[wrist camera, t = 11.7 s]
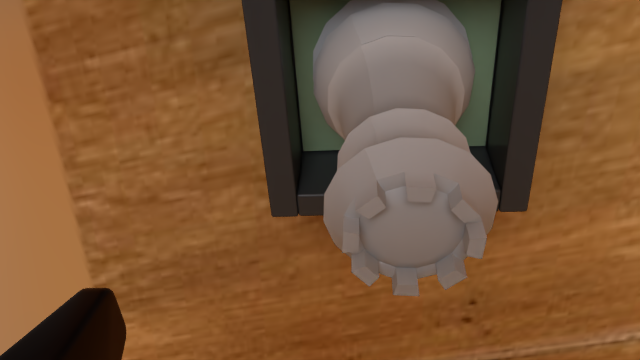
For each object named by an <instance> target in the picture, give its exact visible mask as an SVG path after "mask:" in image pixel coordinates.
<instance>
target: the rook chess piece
mask: <svg viewBox="0 0 640 360" xmlns="http://www.w3.org/2000/svg"><path fill="white" fill-rule="evenodd" d="M472 57H473V56H472V53H471V49H470V45H469V41H468V38H467V34H466V30H465V27H464V26H463V25H462V24H461V23H460V21H459V20H458V19H457V18H456V17H455V15H454V14H453V13H452V12H451V11H450V10H449V8H448V7H447V6H446V5H445V4H444V3H441V2H439V1H437V0H352V1H349V2H348V3H347V4H346V5H345V6H344V7H343V8H342V9H341V10H340V11H339V12H337V13H336V14H335V15H334V16H333V17H332V18H331V19H330V20H329V21H328V22H327V23H326V24H325V26H324V28H323V31H322V33H321V35H320V37H319V39H318V42H317V44H316V46H315V48H314V50H313V81H314V96H315V98H316V100H317V102H318V105H319V107H320V109H321V112H322V114H323V116H324V118H325V120H326V122H327V124H328V125H329V126H330V127H331V128H332V129H333V130H334V131H335V132H336V133H338V134H339V135H340V136H341V137H342V138H343V139H344V140H345V142H344V143H343V145H342V147H341V149H340V151H339V153H338V162H337V172H336V174H335V176H334V177H333V179H332V181H331V183H330V185H329V186H328V188H327V190H326V192H325V194H324V223H325V225H326V227H327V229H328V231H329V233H330V235H331V237H332V240H333V242H334V244H335V245H336V246H337V247H338V248H339V249H341V250H342V253H345V254H347V255H348V256H349V257H350V258H351V259H352V273H353V274H355V275H356V276H357V277H358V278H359V279H361V280H362V281H363V282H364V283H366V284H367V285H368V286H369V287H370V286H371V285H372V284H373V283H374V282H375V281H376V280H377V279H378V278H379V273H380V274H383V275H385V276H388V277H391V278H392V288H393V295H404V296H419V289H418V280H417V279H419V278H423V277H427V276H431V275H436V274H437V276H438V281H439V282H440V284H441V285H442V286H443V288H444V289H445V290H446V289H448V288H450V287H451V286H453V285H455V284H457V283H458V282H460V281H462V280H463V279H465V278H467V274H466V270H465V265H464V261H463V260H464V259H465V258H466V257H468V256H469V257H474V258H479V259H482V257H483V252H484V248H485V244H486V239H487V236H486V235H487V234H488V233H489V231H490V230H491V229H492V226H493V222H494V217H495V213H496V209H497V205H498V199H497V195H496V192H495V188H494V185H493V181H492V177H491V174H490V173H489V172H488V171H487V170H486V169H485V168H484V167H483V166H482V165H481V164H480V163H479V162H478V161H477V160H476V159H475V158H474V156H473V155H472V154H471V153H470V149H469V146H468V143H467V139H466V137H465V136H464V135H463V134H462V133H461V132H460V131H459V130H458V129H457V127H456V126H455V125H456V123H457V122H458V120H459V119H460V117H461V116H462V114H463V113H464V111H465V110H466V108H467V107H468V105H469V102H470V97H471V91H472V86H473V80H474V75H475V67H474V63H473V60H472Z"/></svg>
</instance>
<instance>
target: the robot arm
mask: <svg viewBox="0 0 640 360" xmlns="http://www.w3.org/2000/svg"><path fill="white" fill-rule="evenodd" d="M125 341H126V326H125V322H124V319H123V317H122V314H121V311H120V308H119V306H118V303H117V300H116V297H115V295H114V293H113V291H112V290H110V289H108V288H86V289H82V290H81V291H79V292H78V293H76V294H75V295H74V296H73V297H72V298H70V299H69V300H68V301H67V302H65V303H64V304H63V305H62V306H61V307H59V308H58V309H57V310H56V311H55V312H53V313H52V314H51V315H50V316H48V317H47V318H46V319H45V320H44V321H42V322H41V323H40V324H39V325H37V326H36V327H35V328H34V329H33V330H31V331H30V332H29V333H28V334H27V335H25V336H24V337H23V338H22V339H20V340H19V341H18V342H17V343H16V344H14V345H13V346H12V347H11V348H9V349H8V350H7V351H6V352H4V353H3V354H2V355H1V356H0V360H121V359H122V354H123V350H124V345H125Z"/></svg>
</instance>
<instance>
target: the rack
mask: <svg viewBox="0 0 640 360" xmlns="http://www.w3.org/2000/svg"><path fill="white" fill-rule="evenodd" d="M349 1H352V0H242V6H243V14H244V21H245V28H246V35H247V42H248V49H249V57H250V64H251V71H252V78H253V85H254V93H255V100H256V107H257V114H258V121H259V128H260V136H261V143H262V150H263V157H264V164H265V171H266V179H267V186H268V193H269V200H270V207H271V215H272V216H273V217H290V216H298V213H299V215H301V216H314V215H324V194H325V192H326V190H327V188H328V186H329V185H330V183H331V181H332V179H333V177H334V176H335V174H336V172H337V162H338V153H339V151H340V149H341V147H342V145H343V143H344V142H345V140H344V139H343V138H342V137H341V136H340V135H339V134H338V133H336V132H335V131H334V130H333V129H332V128H331V127H330V126H329V125H328V124H327V122H326V120H325V118H324V116H323V114H322V112H321V109H320V107H319V105H318V102H317V100H316V98H315V96H314V81H313V50H314V48H315V46H316V44H317V42H318V39H319V37H320V35H321V33H322V31H323V28H324V26H325V24H326V23H327V22H328V21H329V20H330V19H331V18H332V17H333V16H334V15H335V14H336V13H337V12H339V11H340V10H341V9H342V8H343V7H344V6H345V5H346V4H347V3H348V2H349ZM437 1H439V2H441V3H444V4H445V5H446V6H447V7H448V8H449V10H450V11H451V12H452V13H453V14H454V15H455V17H456V18H457V19H458V20H459V21H460V23H461V24H462V25H463V26H464V27H465V30H466V34H467V38H468V41H469V45H470V49H471V53H472V56H473V57H472V60H473V63H474V67H475V75H474V80H473V86H472V91H471V97H470V102H469V105H468V107H467V108H466V110H465V111H464V113H463V114H462V116H461V117H460V119H459V120H458V122H457V123H456V125H455V126H456V127H457V129H458V130H459V131H460V132H461V133H462V134H463V135H464V136H465V137H466V139H467V143H468V146H469V149H470V153H471V154H472V155H473V156H474V158H475V159H476V160H477V161H478V162H479V163H480V164H481V165H482V166H483V167H484V168H485V169H486V170H487V171H488V172H489V173H490V174H491V177H492V181H493V185H494V188H495V192H496V195H497V199H498V205H497V209H496V211H498V209H499V211H501V212H517V211H526V210H527V207H528V201H529V195H530V190H531V184H532V178H533V172H534V166H535V160H536V154H537V148H538V142H539V136H540V130H541V124H542V119H543V113H544V107H545V101H546V95H547V89H548V83H549V77H550V71H551V65H552V59H553V53H554V48H555V42H556V36H557V30H558V24H559V18H560V12H561V6H562V0H437Z"/></svg>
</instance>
